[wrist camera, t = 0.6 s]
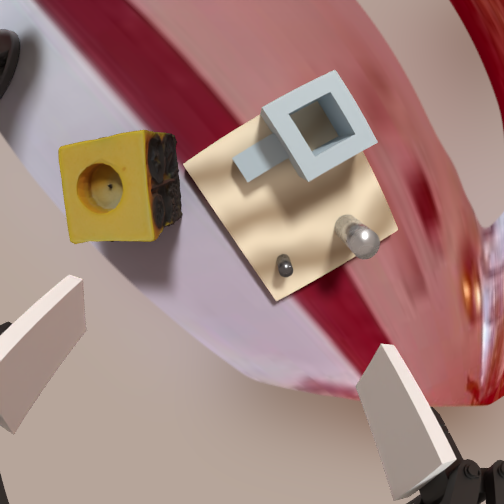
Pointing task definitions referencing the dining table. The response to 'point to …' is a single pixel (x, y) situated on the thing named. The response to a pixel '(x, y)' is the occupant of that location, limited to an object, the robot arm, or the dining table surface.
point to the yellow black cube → (120, 186)
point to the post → (357, 236)
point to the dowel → (284, 265)
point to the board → (290, 203)
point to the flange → (292, 142)
